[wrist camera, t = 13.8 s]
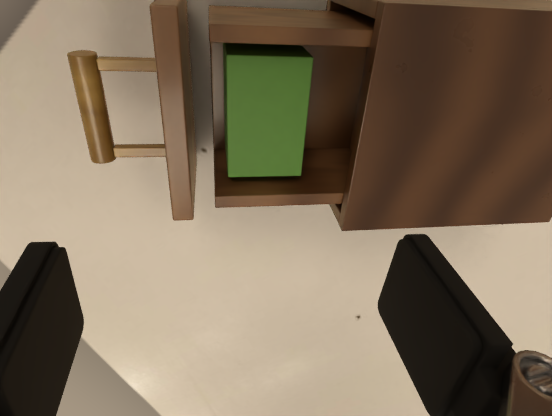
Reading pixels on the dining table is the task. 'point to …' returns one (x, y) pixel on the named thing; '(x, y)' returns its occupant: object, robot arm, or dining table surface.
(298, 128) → the snack box
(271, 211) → the dining table surface
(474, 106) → the cabinet
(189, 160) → the drawer
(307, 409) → the dining table surface
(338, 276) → the dining table surface
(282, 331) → the dining table surface
